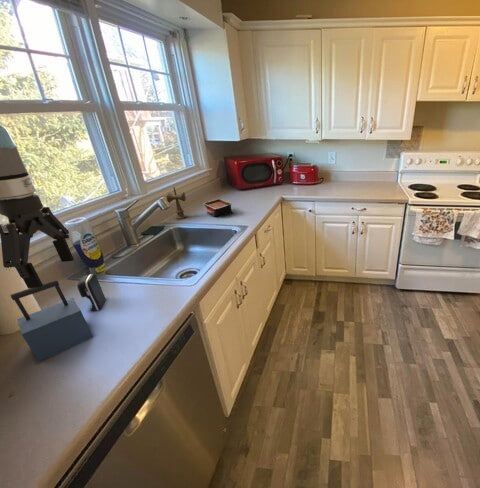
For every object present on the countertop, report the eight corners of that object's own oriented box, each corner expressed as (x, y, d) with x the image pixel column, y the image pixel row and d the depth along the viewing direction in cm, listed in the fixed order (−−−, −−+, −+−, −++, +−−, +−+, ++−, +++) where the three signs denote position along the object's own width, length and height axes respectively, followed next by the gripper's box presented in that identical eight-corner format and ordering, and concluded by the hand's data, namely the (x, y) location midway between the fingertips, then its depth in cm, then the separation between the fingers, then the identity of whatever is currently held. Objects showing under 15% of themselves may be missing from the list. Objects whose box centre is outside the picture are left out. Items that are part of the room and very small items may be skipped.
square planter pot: (214, 222, 173) (213, 207, 168) (202, 211, 183) (201, 197, 178) (235, 218, 182) (235, 204, 177) (223, 208, 192) (223, 194, 188)
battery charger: (93, 301, 99) (81, 274, 94) (106, 298, 100) (94, 271, 95) (87, 313, 93) (73, 284, 88) (101, 310, 94) (88, 282, 89)
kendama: (174, 217, 176) (166, 185, 167) (190, 216, 178) (183, 185, 169) (171, 220, 171) (163, 188, 162) (188, 219, 172) (180, 187, 164)
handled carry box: (39, 362, 75) (34, 346, 80) (93, 337, 83) (85, 324, 88) (4, 308, 67) (1, 293, 72) (68, 286, 75) (61, 274, 80)
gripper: (-10, 211, 56) (37, 298, 65) (65, 182, 78) (92, 250, 87) (-57, 214, 54) (-2, 302, 63) (33, 184, 76) (64, 253, 85)
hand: (53, 272), depth 75 cm, fingers open, 13 cm apart
